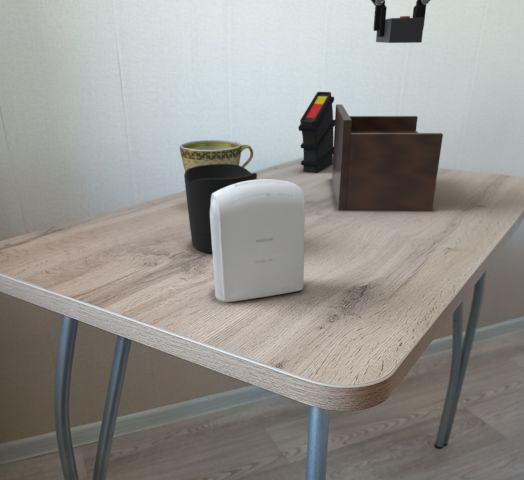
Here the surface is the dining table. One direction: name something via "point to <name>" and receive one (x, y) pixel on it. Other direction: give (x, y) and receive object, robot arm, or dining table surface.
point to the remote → (402, 30)
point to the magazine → (318, 133)
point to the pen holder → (208, 197)
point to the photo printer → (257, 239)
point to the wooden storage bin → (383, 163)
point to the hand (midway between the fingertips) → (397, 35)
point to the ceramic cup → (212, 153)
